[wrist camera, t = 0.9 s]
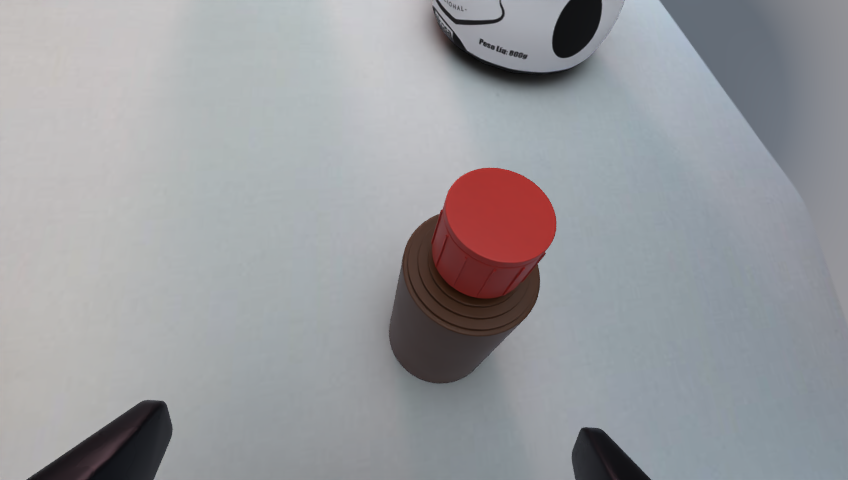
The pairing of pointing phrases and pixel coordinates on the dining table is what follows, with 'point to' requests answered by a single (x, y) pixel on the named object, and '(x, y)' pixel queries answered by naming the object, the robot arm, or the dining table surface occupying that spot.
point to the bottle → (448, 316)
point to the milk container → (528, 31)
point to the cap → (492, 232)
